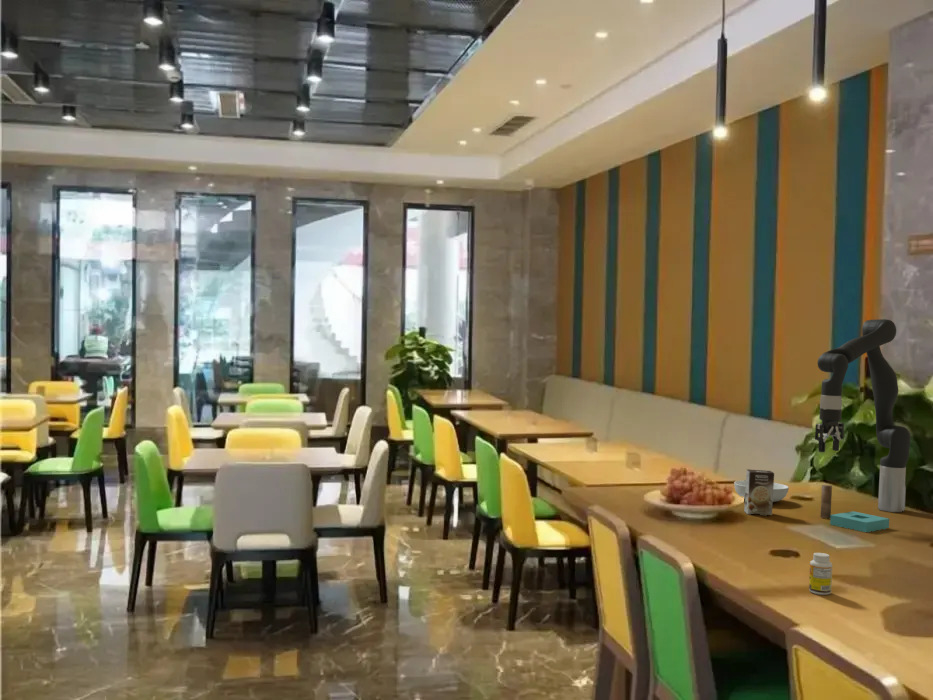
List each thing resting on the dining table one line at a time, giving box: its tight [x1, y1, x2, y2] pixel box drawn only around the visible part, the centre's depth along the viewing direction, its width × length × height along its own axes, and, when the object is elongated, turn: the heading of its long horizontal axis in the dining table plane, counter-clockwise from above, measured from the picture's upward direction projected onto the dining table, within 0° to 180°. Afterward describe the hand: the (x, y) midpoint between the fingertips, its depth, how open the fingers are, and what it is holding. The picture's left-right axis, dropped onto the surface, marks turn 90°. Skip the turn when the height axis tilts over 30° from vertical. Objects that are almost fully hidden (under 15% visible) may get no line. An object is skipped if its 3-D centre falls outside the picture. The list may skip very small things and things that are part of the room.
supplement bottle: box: [808, 552, 833, 596], centre depth 250 cm, size 6×6×10 cm
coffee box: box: [743, 468, 775, 516], centre depth 354 cm, size 9×6×16 cm
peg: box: [820, 484, 833, 520], centre depth 349 cm, size 4×4×12 cm
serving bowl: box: [733, 479, 789, 503], centre depth 379 cm, size 21×21×7 cm
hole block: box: [829, 511, 890, 533], centre depth 336 cm, size 14×14×4 cm
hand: (828, 451), depth 349 cm, fingers open, 8 cm apart
